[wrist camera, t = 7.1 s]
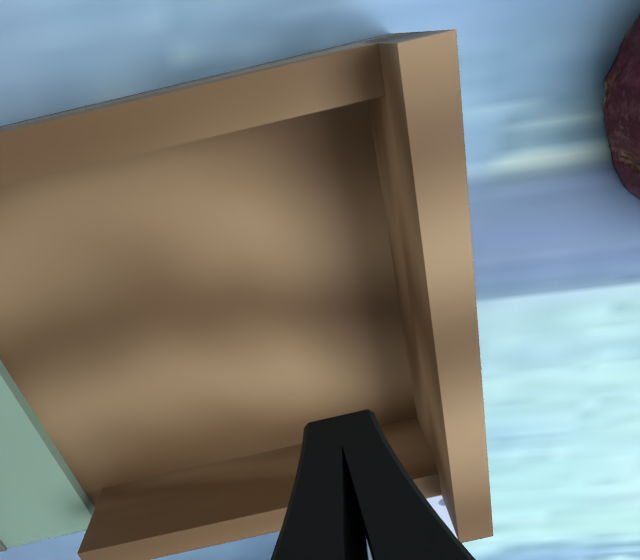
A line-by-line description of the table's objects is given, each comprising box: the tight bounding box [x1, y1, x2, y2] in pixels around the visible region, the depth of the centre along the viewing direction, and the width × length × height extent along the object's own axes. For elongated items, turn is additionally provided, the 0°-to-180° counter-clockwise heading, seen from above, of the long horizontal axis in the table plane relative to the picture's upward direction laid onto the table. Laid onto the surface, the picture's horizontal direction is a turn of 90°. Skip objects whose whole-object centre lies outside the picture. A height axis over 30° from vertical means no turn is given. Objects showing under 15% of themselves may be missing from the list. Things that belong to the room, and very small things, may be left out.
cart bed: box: [0, 30, 493, 560], centre depth 16 cm, size 16×16×6 cm
